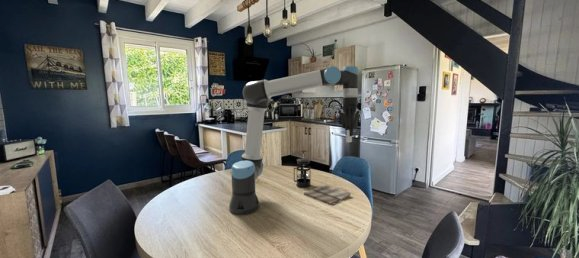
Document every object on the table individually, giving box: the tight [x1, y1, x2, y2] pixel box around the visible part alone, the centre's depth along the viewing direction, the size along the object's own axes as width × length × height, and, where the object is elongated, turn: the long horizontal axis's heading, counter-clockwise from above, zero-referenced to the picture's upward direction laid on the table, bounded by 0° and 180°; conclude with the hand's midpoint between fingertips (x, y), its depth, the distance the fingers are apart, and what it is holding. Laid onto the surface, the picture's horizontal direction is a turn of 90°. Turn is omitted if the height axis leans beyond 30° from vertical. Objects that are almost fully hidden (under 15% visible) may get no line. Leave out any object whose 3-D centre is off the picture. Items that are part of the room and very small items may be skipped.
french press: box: [293, 149, 312, 189], centre depth 157 cm, size 12×9×23 cm
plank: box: [313, 184, 351, 202], centre depth 143 cm, size 20×9×1 cm, turn 40°
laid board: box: [303, 188, 341, 206], centre depth 137 cm, size 20×8×2 cm, turn 40°
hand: (349, 142), depth 128 cm, fingers closed
